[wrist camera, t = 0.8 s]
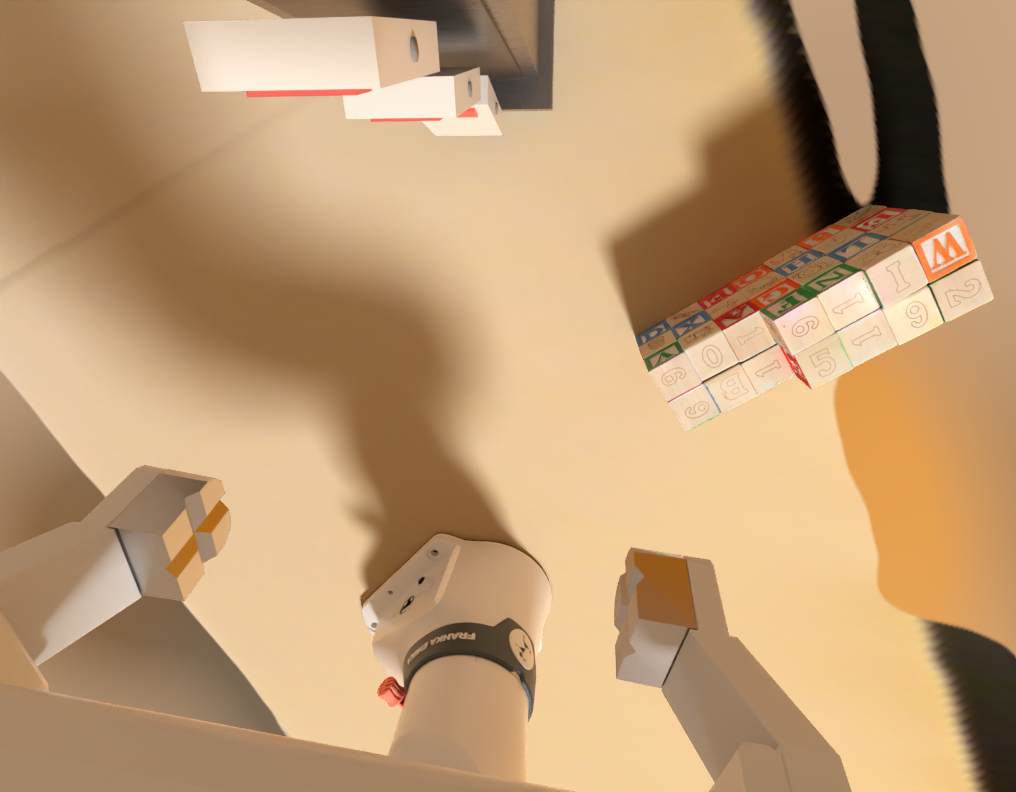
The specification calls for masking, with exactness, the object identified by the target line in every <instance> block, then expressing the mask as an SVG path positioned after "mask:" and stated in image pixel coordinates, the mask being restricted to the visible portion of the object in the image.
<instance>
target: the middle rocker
mask: <svg viewBox="0 0 1016 792" xmlns="http://www.w3.org/2000/svg"><path fill="white" fill-rule="evenodd" d="M480 100H481V87H480V67H445V68H440V72H436V73H433V74H430V75H426V76H423V77H419V78H416V79H412V80H409V81H405V82H402V83H398V84H395V85H391V86H388V87H384V88H381V89H372V91H370V92H367V93H363V94H360V95H343V102H344V108H345V114H346V119H371V122H381V121H440V120H442V119H443V118H456V117H458V116H459V115H461V114H462V113H463V112H465V111H466V110H468V109H469V108H470V107H472V106H473V105H474V104H476V103H477V102H479V101H480Z"/></svg>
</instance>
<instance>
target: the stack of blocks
mask: <svg viewBox="0 0 1016 792" xmlns="http://www.w3.org/2000/svg"><path fill="white" fill-rule="evenodd" d="M976 258H977V253H976V250H975V247H974V245H973V243H972V240H971V237H970V235H969V232H968V230H967V227H966V225H965V223H964V220H963V218H962V217H961V216H959V215H951V214H941V213H934V212H931V211H921V210H913V209H909V210H905V209H897V208H887V207H885V206H879V205H866V206H865V207H863V208H861V209H859V210H858V211H856V212H854V213H852V214H850V215H849V216H847V217H845V218H843V219H842V220H840V221H838V222H836V223H834V224H833V225H829V226H827V227H825V228H824V229H822V230H820V231H818V232H816V233H815V234H813V235H811V236H809V237H808V238H806V239H804V240H802V241H801V242H799V243H797V244H796V245H794V246H792V247H790V248H788V249H786V250H784V251H783V252H781V253H779V254H777V255H776V256H774V257H772V258H770V259H769V260H767V261H765V262H764V263H762V265H761V266H759V267H757V268H755V269H754V270H752V271H750V272H749V273H747V274H745V275H743V276H742V277H740V278H738V279H736V280H734V281H733V282H731V283H730V284H729V285H727V286H725V287H724V288H722V289H720V290H718V291H716V292H715V293H713V294H711V295H710V296H708V297H706V298H704V299H702V300H701V301H699V302H698V303H697V302H695V303H693V304H691V305H690V306H688V307H686V308H684V309H682V310H681V311H679V312H677V313H675V314H674V315H672V316H670V317H668V318H667V319H666V320H664V321H662V322H660V323H658V324H657V325H655V326H653V327H651V328H650V329H648V330H646V331H645V332H643V333H641V334H639V335H638V336H636V341H637V344H638V347H639V350H640V353H641V355H642V358H643V360H644V362H645V364H646V367H647V369H648V371H649V373H650V375H651V376H652V378H653V380H654V381H655V383H656V384H657V386H658V388H659V389H660V391H661V393H662V394H663V396H664V398H665V399H666V401H667V402H668V403H669V405H670V407H671V408H672V410H673V412H674V413H675V415H676V416H677V418H678V420H679V421H680V423H681V425H682V426H683V428H684V430H685V431H689V430H691V429H693V428H695V427H697V426H698V425H700V424H702V423H704V422H706V421H708V420H710V419H712V418H714V417H715V416H717V415H719V414H720V413H725V412H727V411H729V410H730V409H732V408H734V407H736V406H738V405H740V404H742V403H744V402H746V401H748V400H750V399H752V398H754V397H756V396H757V395H759V394H762V393H764V392H766V391H768V390H770V389H772V388H774V387H775V386H777V385H779V384H781V383H783V382H785V381H786V380H788V379H790V378H791V377H793V376H794V375H795V374H796V376H797V377H798V378H799V379H800V380H802V381H803V382H804V383H805V384H806V385H807V386H808V387H809V388H810V389H814V388H816V387H818V386H820V385H822V384H824V383H826V382H828V381H830V380H832V379H834V378H836V377H838V376H840V375H842V374H844V373H846V372H848V371H849V370H852V369H853V367H855V366H857V365H859V364H862V363H864V362H866V361H868V360H870V359H872V358H874V357H875V356H877V355H879V354H881V353H883V352H885V351H887V350H889V349H891V348H893V347H895V346H896V345H901V344H903V343H905V342H907V341H909V340H911V339H913V338H915V337H917V336H919V335H921V334H923V333H925V332H927V331H929V330H931V329H933V328H935V327H937V326H939V325H941V324H943V322H947V321H951V320H953V319H955V318H957V317H959V316H961V315H963V314H965V313H967V312H969V311H971V310H973V309H975V308H977V307H979V306H981V305H984V304H985V303H987V302H989V301H991V300H992V299H993V298H994V296H993V294H992V291H991V289H990V286H989V284H988V281H987V278H986V275H985V273H984V270H983V267H982V265H981V262H980V260H977V259H976Z"/></svg>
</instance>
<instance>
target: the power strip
mask: <svg viewBox="0 0 1016 792" xmlns="http://www.w3.org/2000/svg"><path fill="white" fill-rule="evenodd" d="M247 1H249V2H251V3H253V4H255V5H257V6H259V7H261V8H263V9H265V10H267V11H269V12H271V13H274V14H276V15H278V16H280V17H282V18H284V19H292V18H326V17H360V16H376V17H388V18H400V19H412V20H424V21H436V25H437V39H438V52H439V66H440V68H445V67H480V76H481V75H488V77H489V79H490V82H491V84H492V87H493V89H494V92H495V94H496V97H497V100H498V102H499V105H500V107H501V110H502V111H543V110H552V104H553V58H554V13H555V0H247Z"/></svg>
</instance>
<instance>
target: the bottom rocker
mask: <svg viewBox="0 0 1016 792" xmlns="http://www.w3.org/2000/svg"><path fill="white" fill-rule="evenodd" d="M480 87H481V100H480V101H479V102H477V103H476V104H474V105H473V106H472V107H470V108H469V109H468V110H466V111H465V112H463V113H462V114H461V115H459V116H458V117H456V118H443V119H442V120H440V121H422V122H423V123H424V124H425V125H426V126H427V127H428V129H429V130H430V131H431V132H432V133H433V134H434V135H435V136H467V135H502V110H501V107H500V105H499V102H498V100H497V97H496V94H495V92H494V89H493V87H492V84H491V82H490V79H489V77H488V75H481V76H480Z"/></svg>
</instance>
